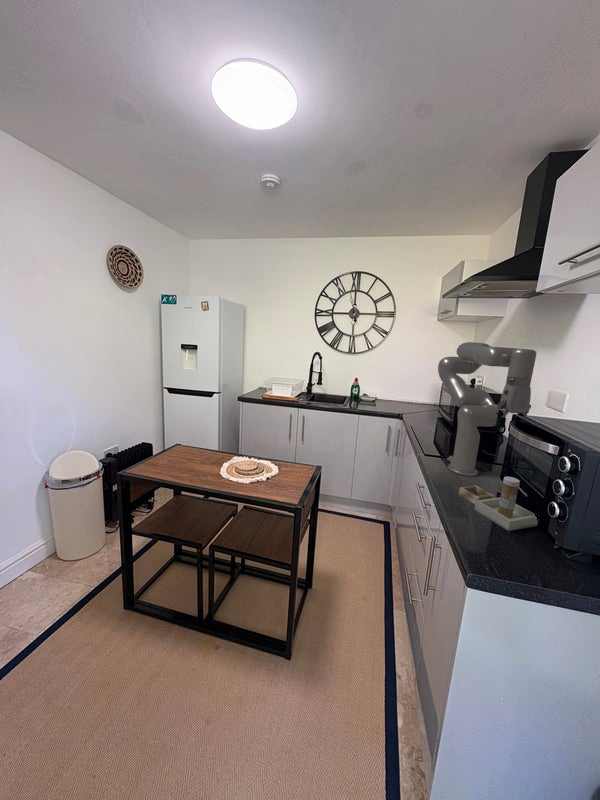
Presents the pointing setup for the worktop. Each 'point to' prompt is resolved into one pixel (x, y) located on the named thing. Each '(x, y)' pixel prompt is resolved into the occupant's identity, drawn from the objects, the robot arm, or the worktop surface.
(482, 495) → the collar
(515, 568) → the worktop surface
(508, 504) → the sprinkles bottle
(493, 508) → the tray
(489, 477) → the worktop surface
